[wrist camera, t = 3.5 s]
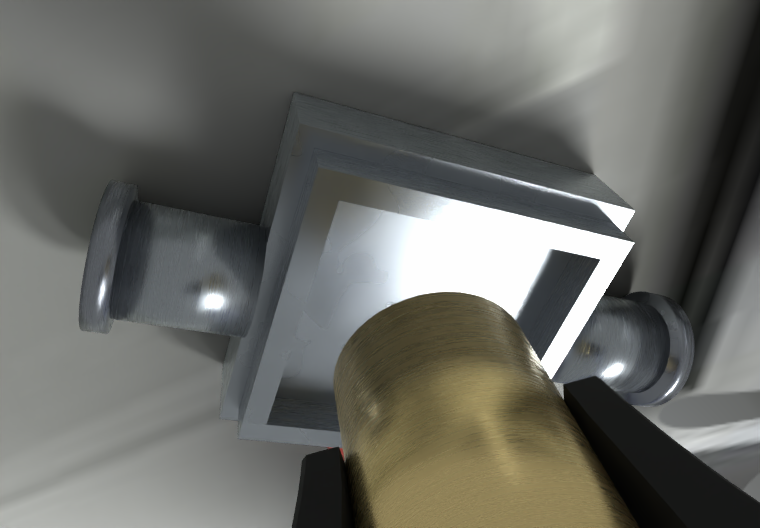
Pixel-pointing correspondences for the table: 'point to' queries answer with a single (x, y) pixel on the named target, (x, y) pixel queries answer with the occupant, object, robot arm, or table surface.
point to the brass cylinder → (462, 425)
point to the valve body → (383, 266)
